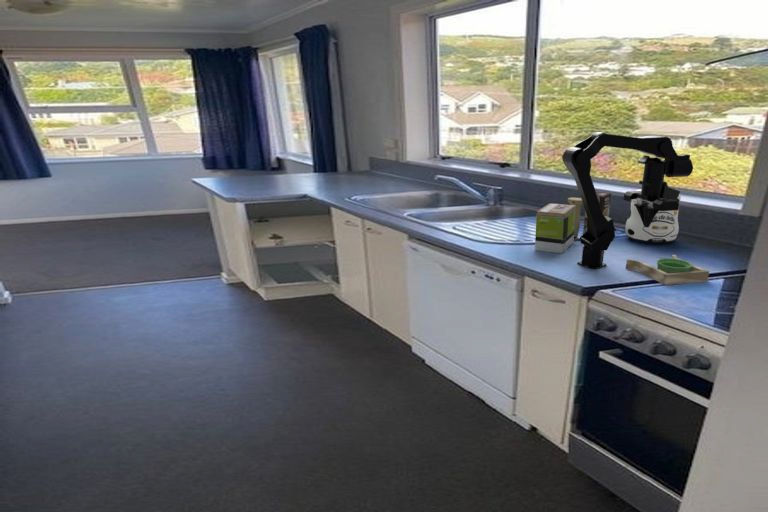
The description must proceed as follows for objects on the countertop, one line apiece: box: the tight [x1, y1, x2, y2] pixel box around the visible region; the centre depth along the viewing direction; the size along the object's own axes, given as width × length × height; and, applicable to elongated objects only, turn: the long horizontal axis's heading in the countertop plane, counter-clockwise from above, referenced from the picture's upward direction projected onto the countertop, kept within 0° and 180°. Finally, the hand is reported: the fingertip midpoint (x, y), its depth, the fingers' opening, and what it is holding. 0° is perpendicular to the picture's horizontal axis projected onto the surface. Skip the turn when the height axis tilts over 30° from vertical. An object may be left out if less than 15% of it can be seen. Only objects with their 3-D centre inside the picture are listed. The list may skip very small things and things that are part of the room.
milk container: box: [625, 189, 681, 244], centre depth 176 cm, size 17×17×18 cm
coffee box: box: [582, 191, 612, 235], centre depth 186 cm, size 9×6×16 cm
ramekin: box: [656, 257, 693, 274], centre depth 142 cm, size 9×9×4 cm
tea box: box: [534, 202, 576, 254], centre depth 172 cm, size 15×10×15 cm
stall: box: [625, 254, 710, 286], centre depth 144 cm, size 16×17×3 cm
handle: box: [567, 197, 583, 238], centre depth 184 cm, size 5×6×15 cm
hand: (646, 227), depth 151 cm, fingers closed
